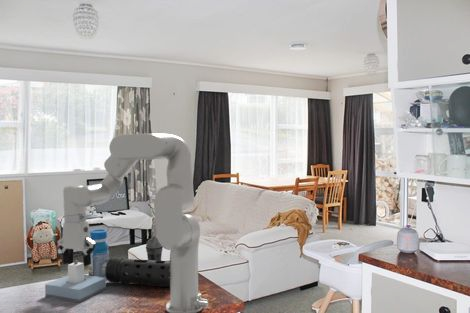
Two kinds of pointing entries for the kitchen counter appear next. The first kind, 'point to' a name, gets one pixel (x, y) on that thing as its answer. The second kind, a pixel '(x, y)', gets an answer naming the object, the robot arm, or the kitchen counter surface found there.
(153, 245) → the beverage cup
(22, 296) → the kitchen counter surface
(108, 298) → the kitchen counter surface
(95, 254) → the beverage bottle
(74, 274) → the white square peg
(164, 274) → the muzzle brake
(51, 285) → the socket plate
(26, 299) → the kitchen counter surface
